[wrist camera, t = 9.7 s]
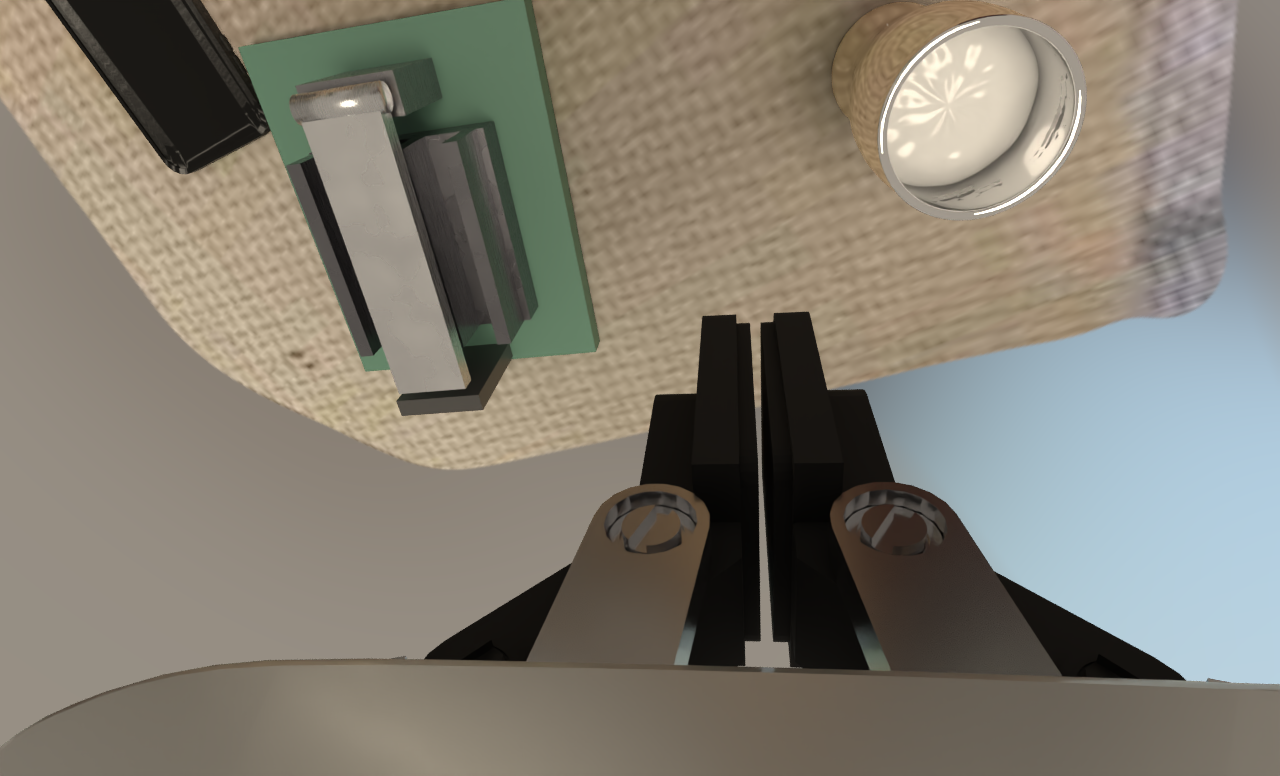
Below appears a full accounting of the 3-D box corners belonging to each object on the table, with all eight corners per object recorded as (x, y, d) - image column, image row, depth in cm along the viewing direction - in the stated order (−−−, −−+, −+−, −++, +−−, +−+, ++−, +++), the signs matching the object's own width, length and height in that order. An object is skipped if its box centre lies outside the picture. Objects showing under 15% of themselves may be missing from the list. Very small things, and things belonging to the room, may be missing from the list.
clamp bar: (301, 92, 33) (285, 96, 32) (386, 78, 33) (373, 82, 32) (404, 383, 41) (394, 395, 40) (475, 378, 40) (467, 390, 39)
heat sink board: (254, 44, 39) (153, 61, 32) (530, -5, 36) (484, 3, 30) (375, 360, 49) (317, 424, 42) (599, 341, 46) (577, 406, 39)
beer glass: (987, 83, 36) (1128, 147, 23) (863, 165, 39) (929, 263, 26) (923, -43, 34) (1041, -48, 21) (796, 54, 36) (832, 102, 24)
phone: (176, 180, 43) (-23, -92, 36) (188, 175, 44) (-3, -91, 37) (275, 128, 41) (82, -172, 34) (286, 124, 42) (99, -168, 35)
